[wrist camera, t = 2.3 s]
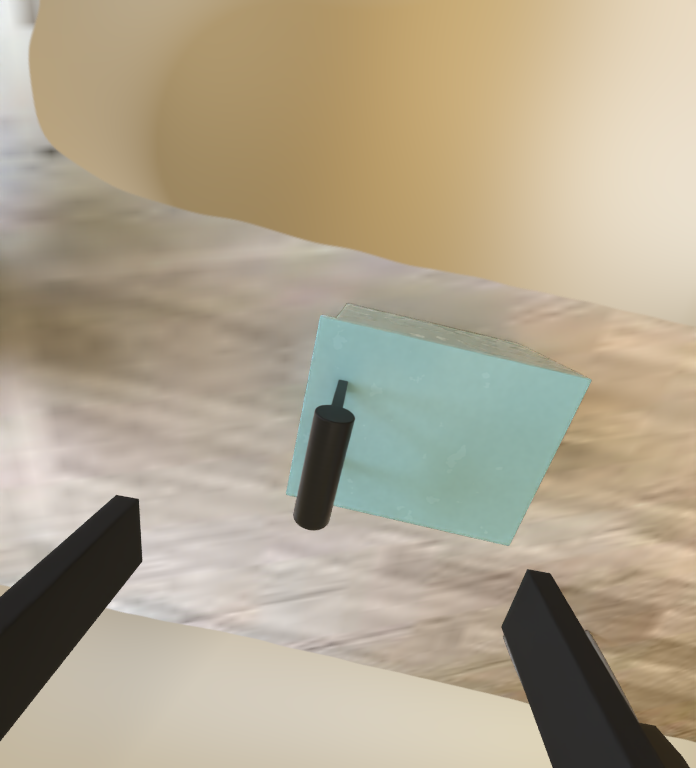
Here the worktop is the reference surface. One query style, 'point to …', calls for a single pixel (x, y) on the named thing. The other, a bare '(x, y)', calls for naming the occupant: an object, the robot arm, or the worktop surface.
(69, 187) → the worktop surface
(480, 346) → the teal box
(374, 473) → the cabinet door
